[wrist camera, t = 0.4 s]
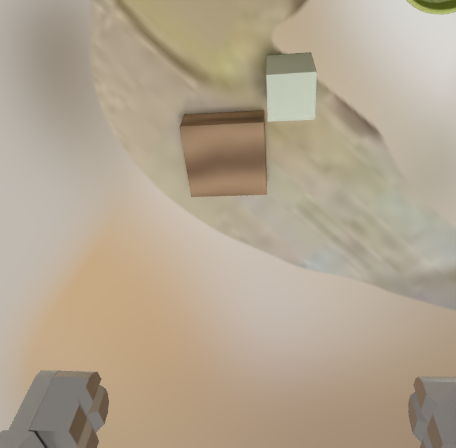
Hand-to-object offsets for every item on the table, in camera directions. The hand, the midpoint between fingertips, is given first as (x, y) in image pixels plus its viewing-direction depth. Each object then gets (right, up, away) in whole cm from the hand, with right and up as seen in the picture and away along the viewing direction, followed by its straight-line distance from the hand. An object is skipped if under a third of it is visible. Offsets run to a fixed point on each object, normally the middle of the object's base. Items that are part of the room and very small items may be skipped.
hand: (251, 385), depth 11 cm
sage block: (+7, +22, +38) cm, 44 cm away
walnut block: (-1, +14, +45) cm, 47 cm away
